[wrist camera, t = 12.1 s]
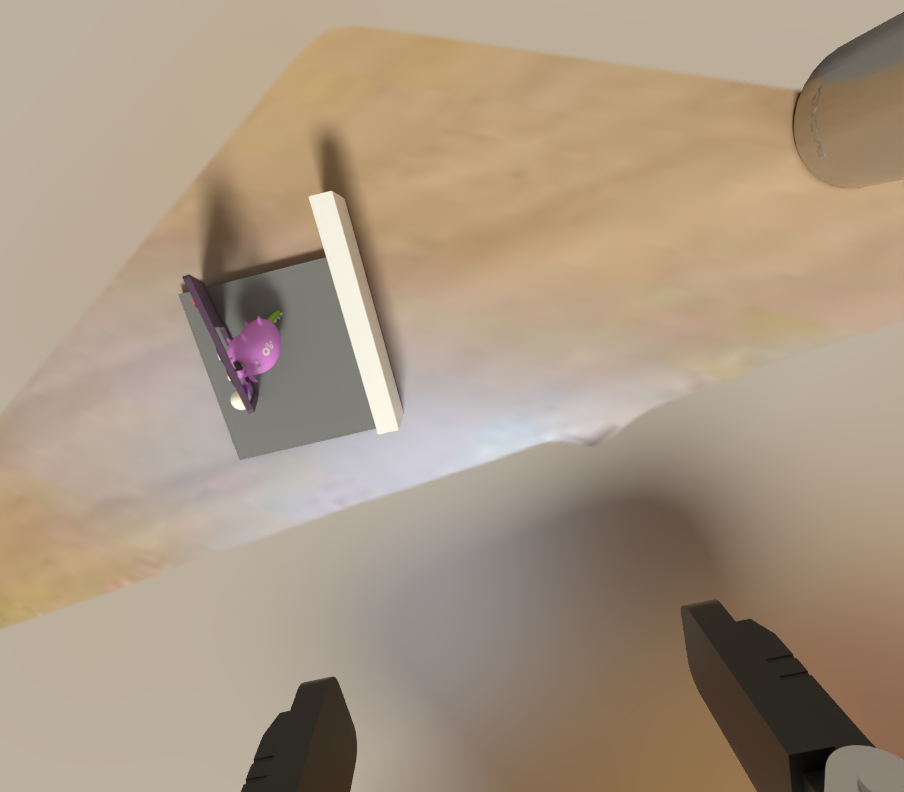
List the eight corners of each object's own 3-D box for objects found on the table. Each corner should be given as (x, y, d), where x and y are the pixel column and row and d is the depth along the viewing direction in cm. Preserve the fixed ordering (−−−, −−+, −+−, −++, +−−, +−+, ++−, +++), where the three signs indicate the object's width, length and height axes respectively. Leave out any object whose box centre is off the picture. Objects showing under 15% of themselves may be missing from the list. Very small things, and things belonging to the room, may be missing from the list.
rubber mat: (328, 257, 36) (326, 257, 36) (377, 425, 39) (376, 428, 39) (182, 293, 37) (178, 294, 36) (242, 457, 40) (239, 459, 39)
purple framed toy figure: (168, 280, 30) (236, 419, 32) (256, 251, 31) (316, 387, 33) (188, 288, 36) (243, 404, 38) (260, 264, 37) (310, 377, 39)
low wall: (344, 198, 35) (331, 190, 31) (403, 413, 39) (398, 429, 35) (323, 203, 35) (308, 196, 31) (384, 417, 39) (378, 434, 35)
